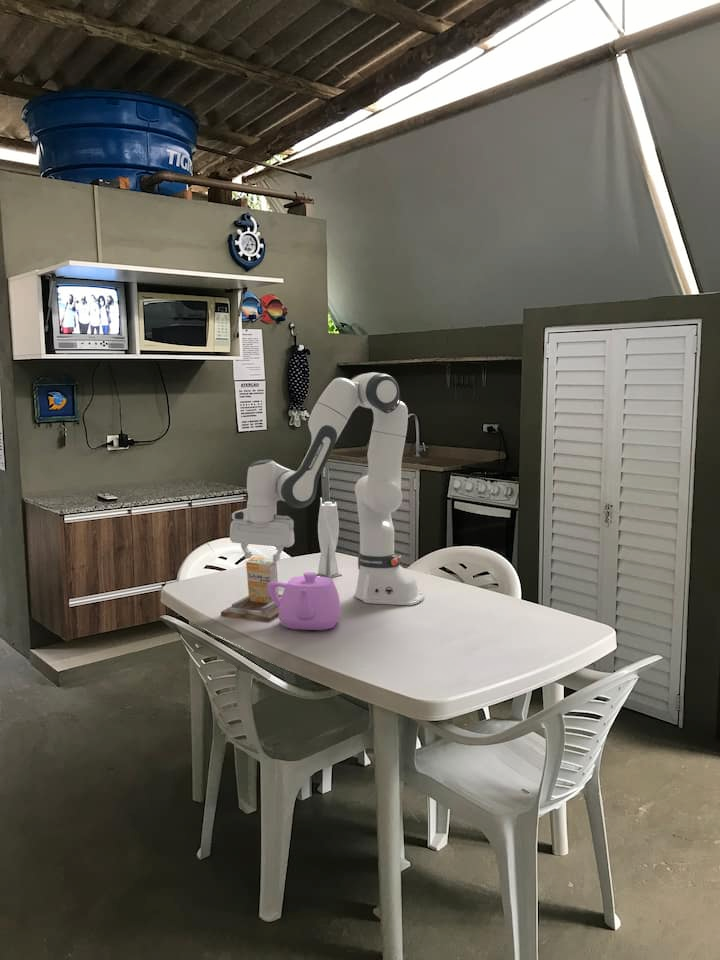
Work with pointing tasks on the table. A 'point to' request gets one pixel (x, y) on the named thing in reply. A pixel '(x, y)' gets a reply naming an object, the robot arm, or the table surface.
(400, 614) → the table surface
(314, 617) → the teapot
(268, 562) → the supplement box
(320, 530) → the skyscraper
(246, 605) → the rail board
